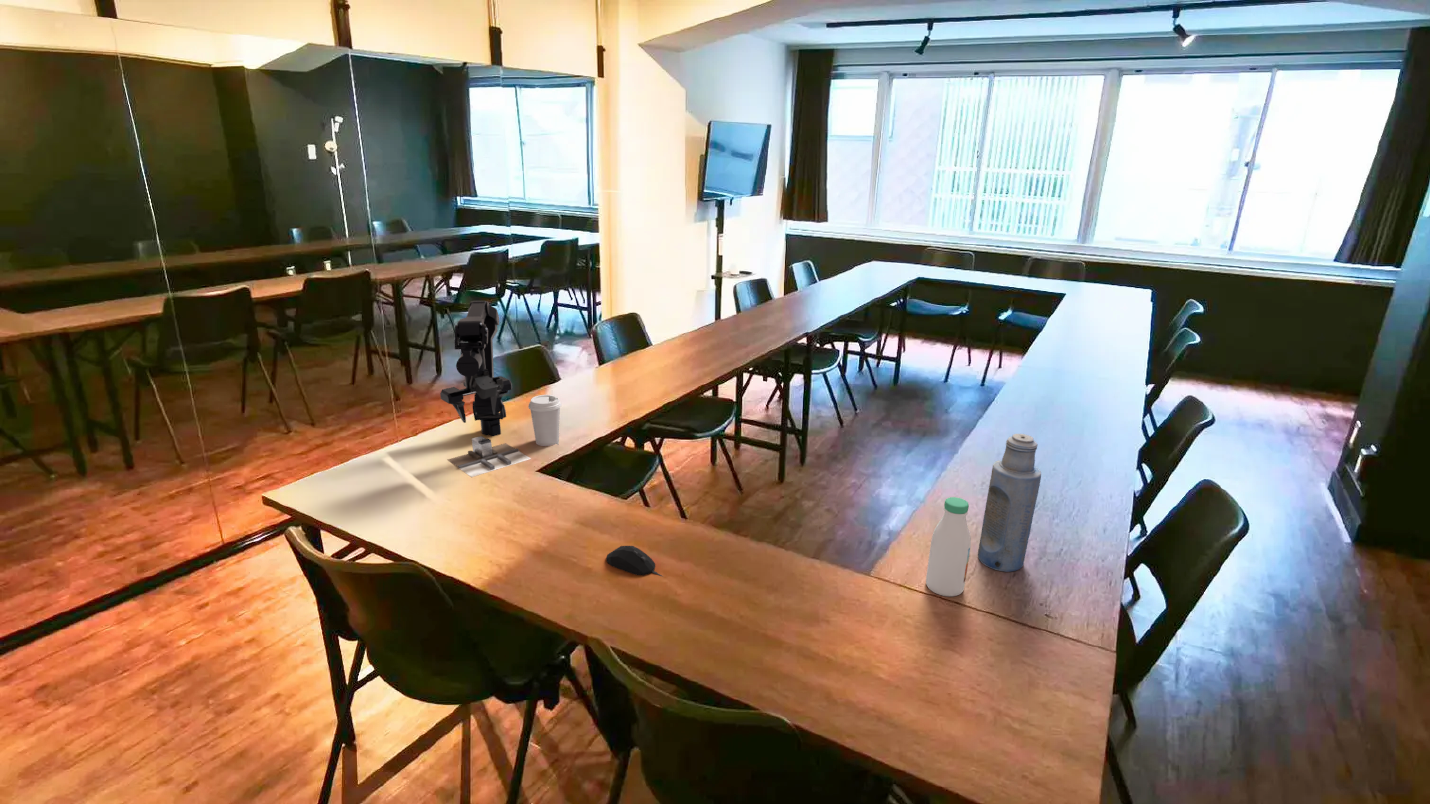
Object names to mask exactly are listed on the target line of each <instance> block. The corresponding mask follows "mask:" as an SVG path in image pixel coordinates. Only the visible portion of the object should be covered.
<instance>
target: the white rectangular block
mask: <svg viewBox="0 0 1430 804" xmlns="http://www.w3.org/2000/svg"><path fill="white" fill-rule="evenodd" d="M471 445H472V451H473V452H474V453H476V454H477V455H479V456H480V457H481V459H482V458H486V457H489V456H493V454H492V447H493V446H492V445H493V444H492V440H491V439H490V438H485V437H484V436H483V435H481V436H477V437H473V438H471Z"/></svg>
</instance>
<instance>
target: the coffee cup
mask: <svg viewBox="0 0 1430 804" xmlns="http://www.w3.org/2000/svg"><path fill="white" fill-rule="evenodd" d="M561 407H562V402H561V400H560V399H559V397H558V396H556V395H553V394H541V395H536V396H533V397H532V398H531V399H530V400H529V404H528V409H529V410H530V414H531V420H532V426H533V432H534V433H533V434H534V438H535V443H536V445H538V446H540V447H541V446H543V447H548V446H549V447H550V446H554V445H557V446H560V445H559V443H560V419H561V418H560V414H561Z"/></svg>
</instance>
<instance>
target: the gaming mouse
mask: <svg viewBox="0 0 1430 804" xmlns="http://www.w3.org/2000/svg"><path fill="white" fill-rule="evenodd" d="M605 560H606V562H607V564H609V565H610V566H611V567H612V568H614V569H618V570H620V571H623V572H626V573H629V574H632V575H636V576H643V577H645V576H646V575H649V574H651V573H652V574H653V575H657V576H660V577H664V575H662V574H661V573H658V572H657V571H655V569H656V563H655V562H654V560H653V559H652V557H650V556H649V555H648V554H646V553H645V552H644V551H643V550H641V549H640V548H638V547H637V546H634V545H620V546H619V547H617V548H615V549H614V550H612V551H611V552H609V553H607V555H606V558H605Z"/></svg>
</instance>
